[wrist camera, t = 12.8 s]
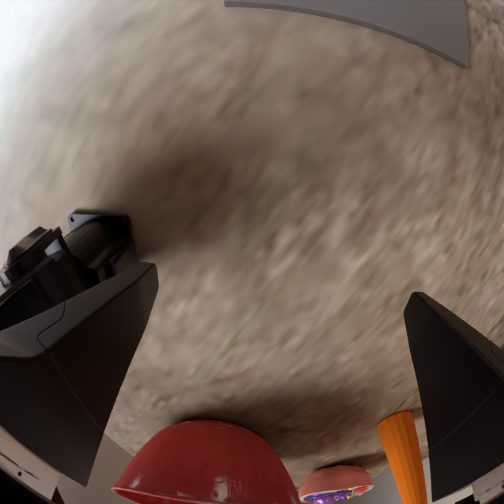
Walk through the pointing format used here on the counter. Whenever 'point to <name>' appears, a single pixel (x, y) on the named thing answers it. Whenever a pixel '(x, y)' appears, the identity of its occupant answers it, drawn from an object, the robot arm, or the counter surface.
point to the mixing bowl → (206, 468)
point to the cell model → (335, 484)
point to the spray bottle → (404, 456)
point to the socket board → (393, 20)
